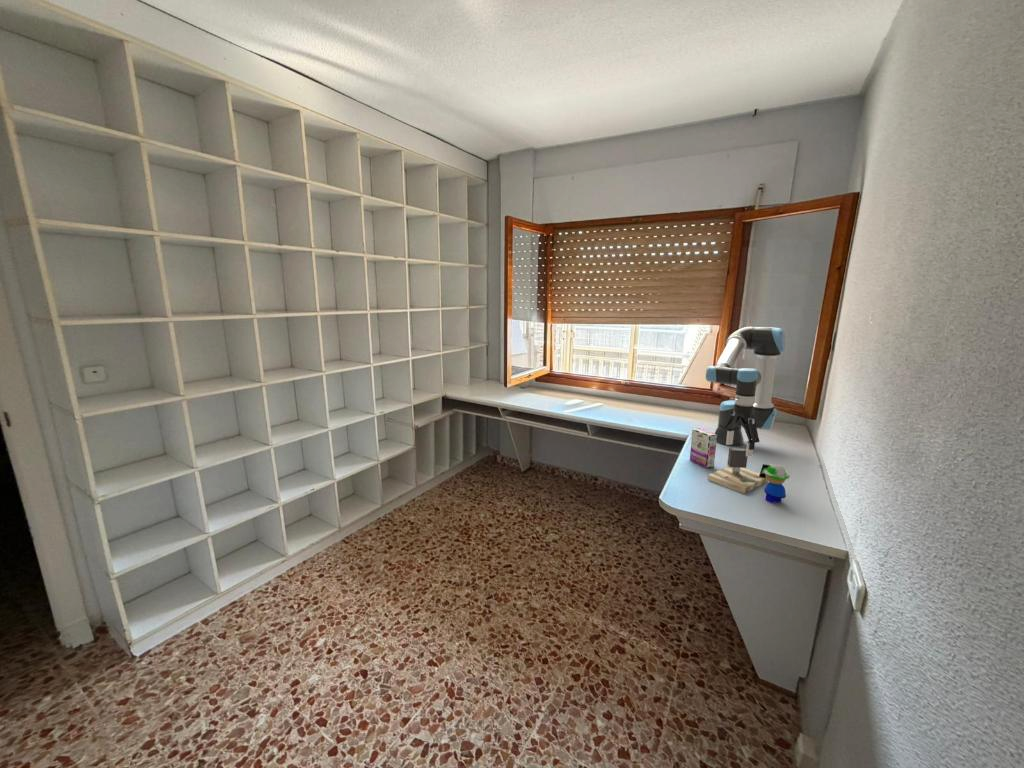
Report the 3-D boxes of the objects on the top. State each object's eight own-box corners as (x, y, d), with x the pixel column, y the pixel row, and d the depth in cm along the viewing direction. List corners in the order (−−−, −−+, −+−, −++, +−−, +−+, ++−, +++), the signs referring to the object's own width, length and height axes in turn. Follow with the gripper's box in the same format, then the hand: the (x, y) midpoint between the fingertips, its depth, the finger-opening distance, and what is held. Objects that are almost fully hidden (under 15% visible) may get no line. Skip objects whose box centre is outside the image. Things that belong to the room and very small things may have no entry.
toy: (775, 494, 170) (780, 460, 167) (791, 505, 161) (796, 469, 158) (754, 494, 170) (759, 460, 167) (768, 505, 161) (773, 469, 157)
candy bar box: (714, 466, 197) (718, 434, 193) (706, 468, 195) (710, 435, 192) (696, 458, 207) (699, 427, 204) (689, 459, 205) (691, 428, 202)
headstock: (731, 469, 194) (732, 464, 194) (767, 481, 181) (768, 475, 181) (707, 479, 183) (708, 474, 183) (744, 493, 170) (745, 487, 170)
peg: (726, 470, 186) (729, 447, 184) (743, 471, 185) (745, 448, 183) (735, 481, 176) (738, 457, 174) (753, 482, 175) (756, 458, 172)
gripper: (718, 397, 189) (714, 440, 194) (755, 412, 165) (749, 461, 170) (733, 396, 190) (729, 439, 195) (773, 412, 166) (766, 460, 171)
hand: (738, 450), depth 183 cm, fingers open, 13 cm apart
